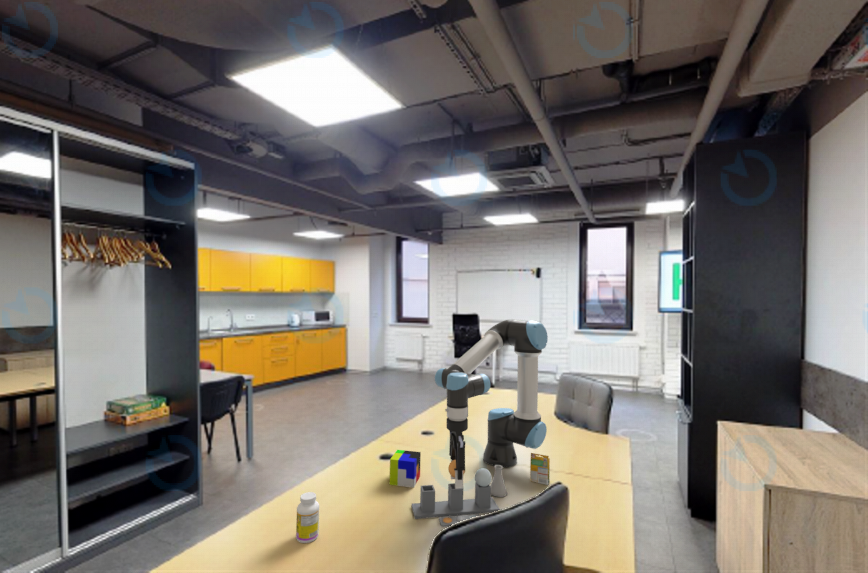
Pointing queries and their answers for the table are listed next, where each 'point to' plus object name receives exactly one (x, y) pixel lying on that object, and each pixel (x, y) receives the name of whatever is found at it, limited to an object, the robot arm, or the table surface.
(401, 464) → the puzzle toy
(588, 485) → the table surface
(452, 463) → the orange ball
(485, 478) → the light gray ball
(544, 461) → the crayon box
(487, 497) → the ball display stand
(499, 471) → the flask
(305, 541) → the supplement bottle
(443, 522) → the card
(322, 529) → the table surface
